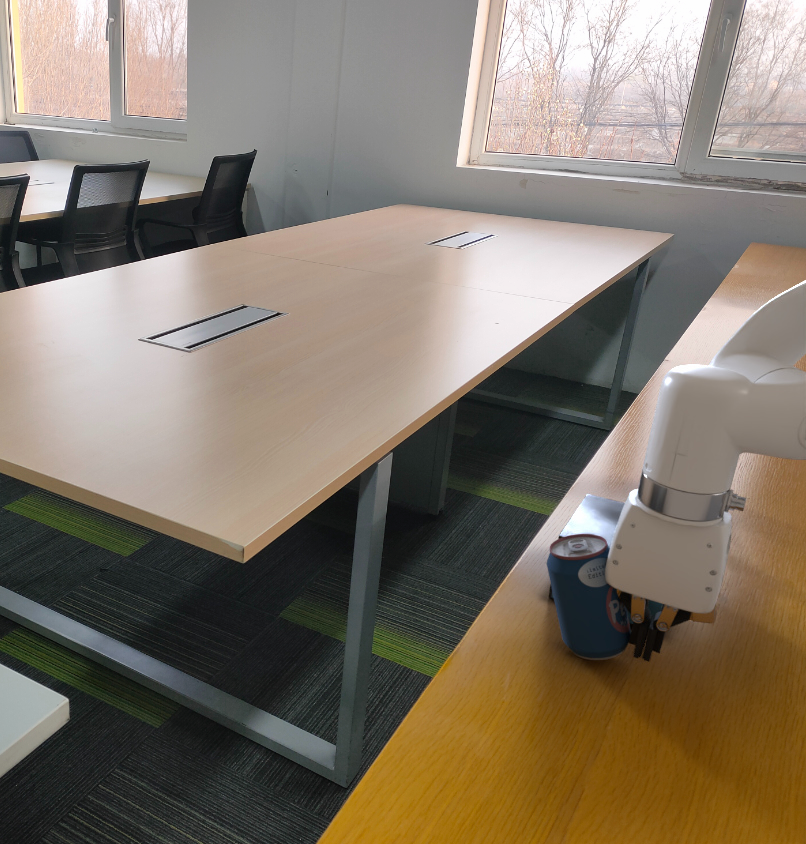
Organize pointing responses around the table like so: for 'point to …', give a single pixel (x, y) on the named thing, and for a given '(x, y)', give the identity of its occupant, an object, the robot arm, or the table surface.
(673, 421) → the robot arm
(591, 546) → the soda can
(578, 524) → the cabinet
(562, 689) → the table surface
